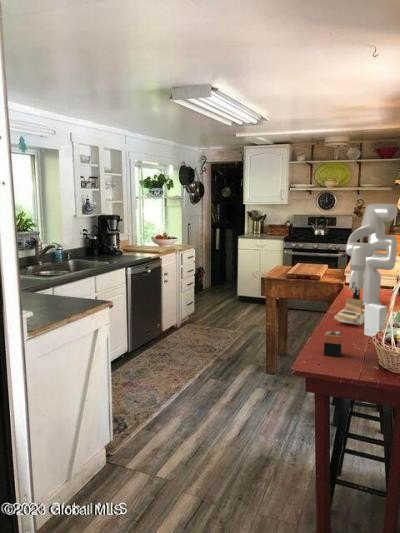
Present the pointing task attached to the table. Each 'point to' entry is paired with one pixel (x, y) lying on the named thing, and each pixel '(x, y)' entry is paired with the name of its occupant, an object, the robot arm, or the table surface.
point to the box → (357, 322)
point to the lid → (351, 310)
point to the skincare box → (374, 319)
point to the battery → (332, 344)
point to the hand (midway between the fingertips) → (355, 301)
